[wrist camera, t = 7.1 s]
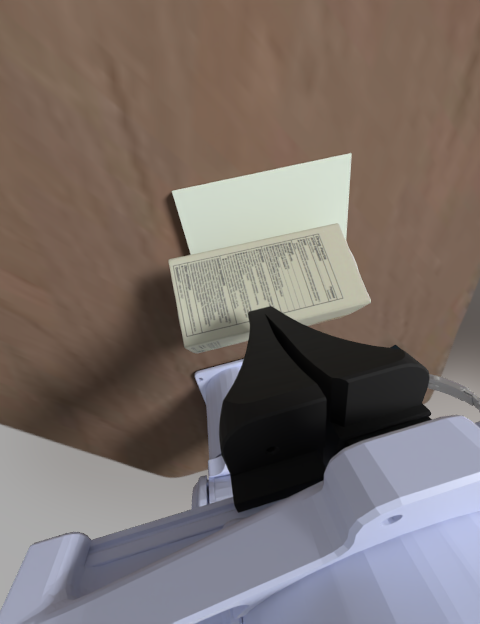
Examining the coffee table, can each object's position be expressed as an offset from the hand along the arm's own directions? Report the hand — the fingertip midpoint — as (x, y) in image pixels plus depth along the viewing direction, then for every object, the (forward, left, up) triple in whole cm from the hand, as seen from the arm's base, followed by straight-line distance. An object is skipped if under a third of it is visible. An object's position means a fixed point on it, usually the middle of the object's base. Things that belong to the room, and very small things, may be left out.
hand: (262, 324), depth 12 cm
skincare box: (0, +5, -5) cm, 7 cm away
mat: (0, -3, -9) cm, 9 cm away
